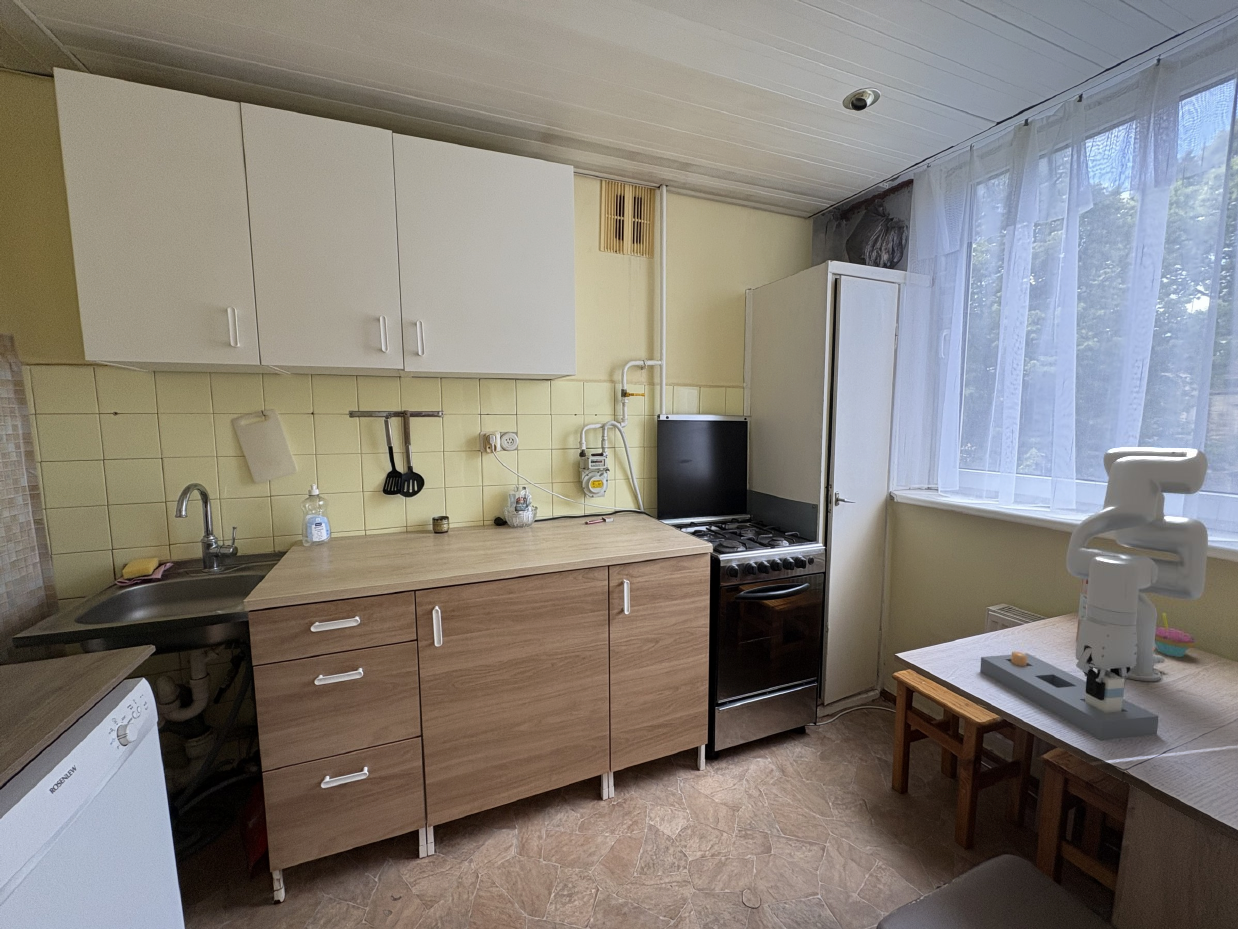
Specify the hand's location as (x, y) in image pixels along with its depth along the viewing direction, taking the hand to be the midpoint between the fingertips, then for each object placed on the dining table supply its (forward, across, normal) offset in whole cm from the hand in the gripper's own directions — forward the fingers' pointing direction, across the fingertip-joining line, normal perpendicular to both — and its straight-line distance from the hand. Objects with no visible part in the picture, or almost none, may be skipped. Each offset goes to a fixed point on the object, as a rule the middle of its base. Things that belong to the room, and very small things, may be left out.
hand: (1103, 695), depth 103 cm
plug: (+5, 0, 0) cm, 5 cm away
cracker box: (+7, -45, -35) cm, 57 cm away
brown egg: (+6, 0, -19) cm, 20 cm away
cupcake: (+7, -57, -25) cm, 63 cm away
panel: (+7, 0, -9) cm, 11 cm away
